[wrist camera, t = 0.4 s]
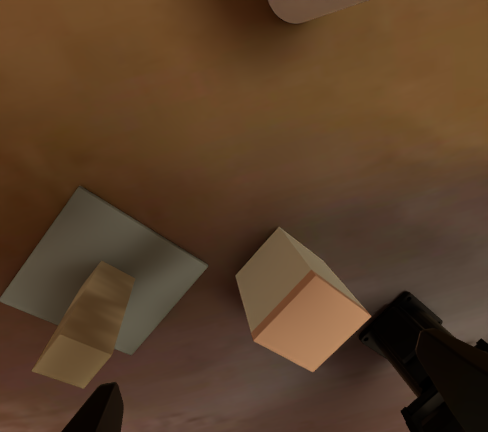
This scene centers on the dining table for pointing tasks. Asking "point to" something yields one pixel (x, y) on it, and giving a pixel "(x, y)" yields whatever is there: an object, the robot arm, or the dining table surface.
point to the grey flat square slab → (98, 286)
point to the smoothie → (308, 8)
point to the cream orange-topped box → (297, 302)
